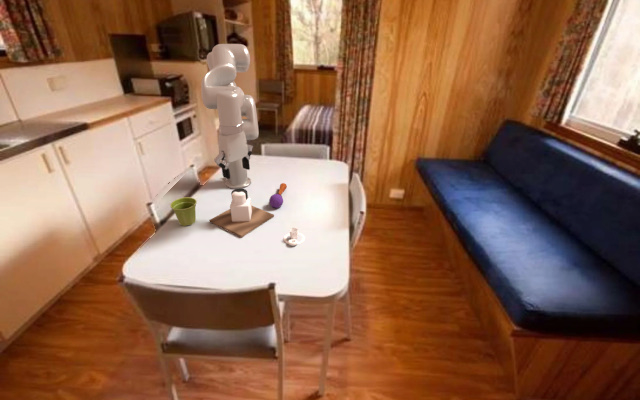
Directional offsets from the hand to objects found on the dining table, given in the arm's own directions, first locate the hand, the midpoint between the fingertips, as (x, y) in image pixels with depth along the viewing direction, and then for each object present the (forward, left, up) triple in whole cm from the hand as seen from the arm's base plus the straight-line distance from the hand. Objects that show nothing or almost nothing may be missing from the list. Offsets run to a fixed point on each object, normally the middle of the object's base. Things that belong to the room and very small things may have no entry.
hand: (236, 173), depth 115 cm
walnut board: (0, 0, -20) cm, 20 cm away
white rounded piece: (+24, -1, -21) cm, 32 cm away
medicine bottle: (0, 0, -20) cm, 19 cm away
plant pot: (-16, -14, -21) cm, 29 cm away
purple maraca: (+1, +22, -21) cm, 30 cm away
